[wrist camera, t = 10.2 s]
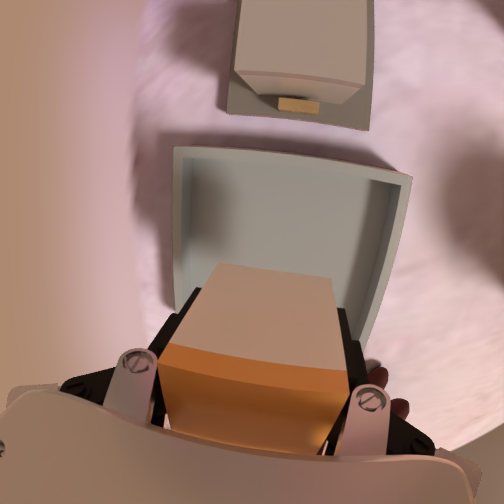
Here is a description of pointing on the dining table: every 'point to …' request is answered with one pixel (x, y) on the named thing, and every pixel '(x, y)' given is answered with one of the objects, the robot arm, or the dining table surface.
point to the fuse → (303, 48)
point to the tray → (288, 221)
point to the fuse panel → (345, 115)
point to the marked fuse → (257, 361)
